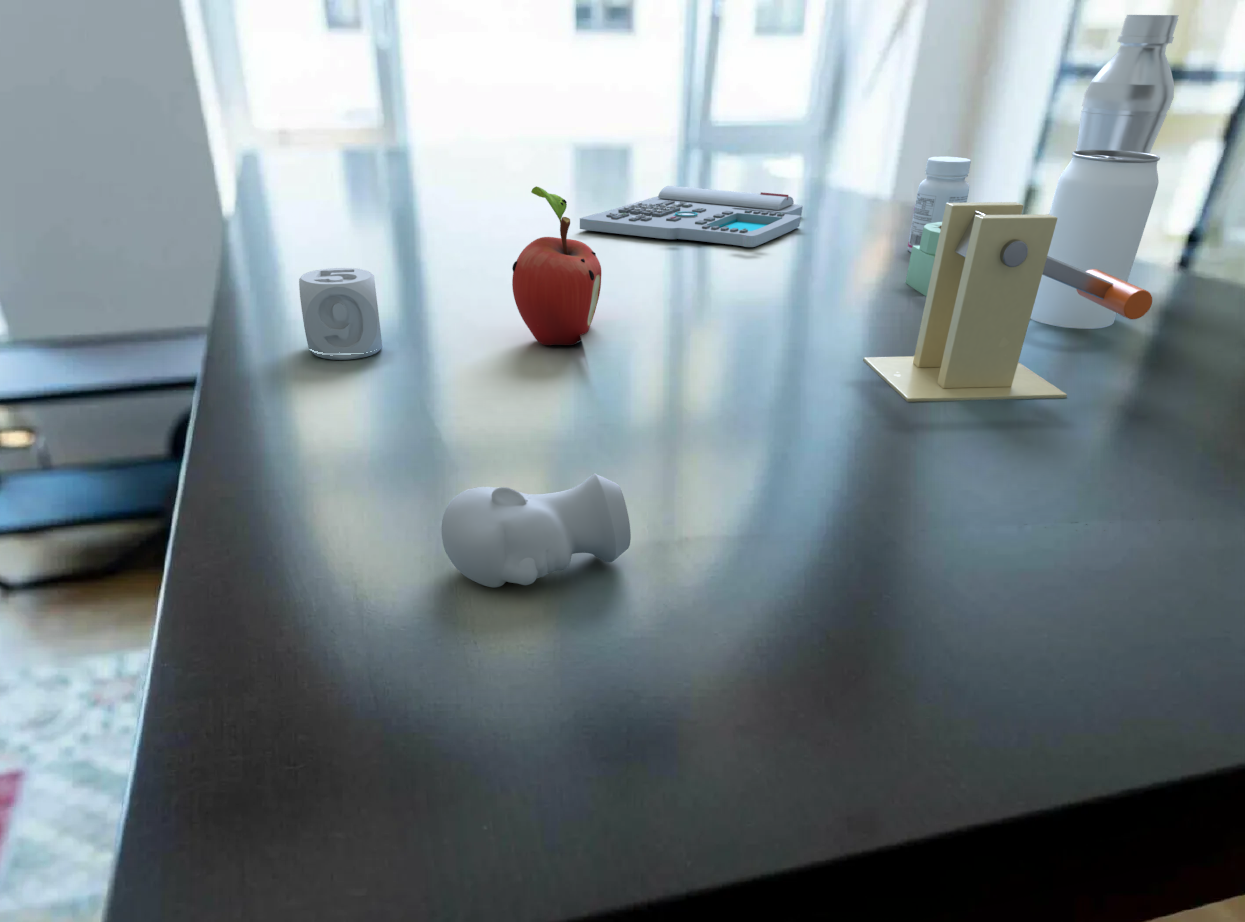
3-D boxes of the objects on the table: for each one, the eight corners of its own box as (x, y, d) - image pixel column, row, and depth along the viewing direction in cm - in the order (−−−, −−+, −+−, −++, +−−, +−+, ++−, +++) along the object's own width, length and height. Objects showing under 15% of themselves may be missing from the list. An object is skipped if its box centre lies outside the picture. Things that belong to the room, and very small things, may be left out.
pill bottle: (953, 248, 96) (973, 156, 91) (957, 258, 92) (978, 163, 87) (905, 246, 97) (922, 154, 92) (907, 255, 93) (925, 161, 88)
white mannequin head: (445, 619, 40) (449, 533, 43) (632, 611, 40) (623, 526, 43) (431, 548, 36) (437, 460, 39) (637, 540, 36) (627, 454, 39)
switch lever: (1087, 305, 60) (1111, 268, 59) (1136, 329, 56) (1162, 289, 54) (942, 245, 57) (963, 205, 56) (981, 266, 53) (1005, 222, 51)
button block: (998, 280, 85) (1012, 221, 82) (1038, 302, 79) (1055, 238, 76) (902, 282, 84) (913, 221, 81) (935, 303, 78) (948, 239, 75)
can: (1075, 347, 68) (1131, 163, 61) (1001, 325, 73) (1046, 152, 66) (1127, 334, 71) (1186, 157, 64) (1053, 314, 76) (1101, 146, 69)
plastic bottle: (1076, 300, 79) (1161, 15, 68) (1016, 282, 84) (1086, 14, 73) (1130, 293, 81) (1221, 15, 70) (1069, 276, 86) (1144, 14, 75)
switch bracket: (1002, 371, 63) (1048, 197, 57) (1061, 413, 57) (1121, 221, 51) (860, 375, 63) (891, 198, 56) (903, 417, 56) (944, 223, 50)
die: (381, 337, 69) (372, 266, 66) (383, 358, 65) (374, 282, 62) (311, 341, 68) (300, 268, 65) (309, 362, 64) (297, 286, 61)
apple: (625, 342, 68) (629, 192, 62) (558, 363, 64) (556, 204, 58) (553, 321, 73) (551, 179, 67) (486, 339, 69) (477, 189, 63)
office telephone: (672, 179, 117) (826, 193, 109) (670, 202, 118) (823, 217, 110) (578, 204, 100) (753, 223, 92) (578, 231, 102) (750, 251, 93)
